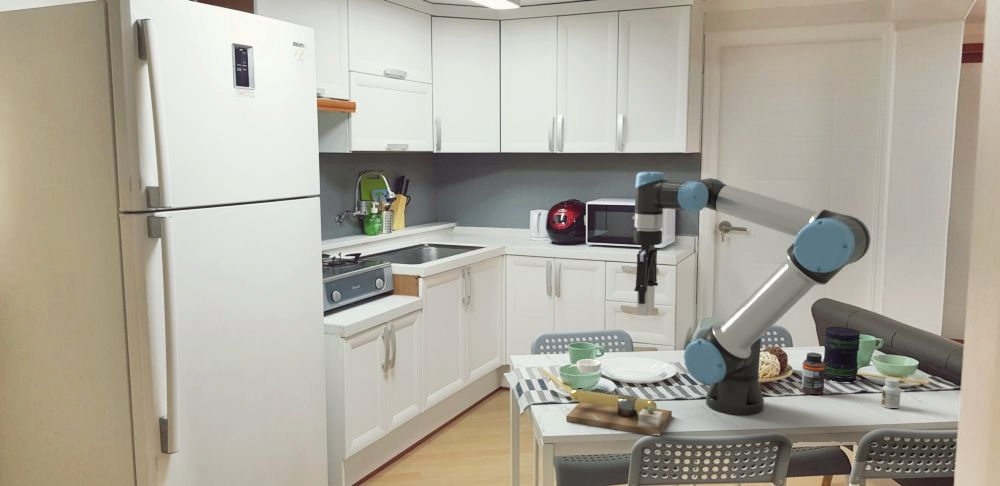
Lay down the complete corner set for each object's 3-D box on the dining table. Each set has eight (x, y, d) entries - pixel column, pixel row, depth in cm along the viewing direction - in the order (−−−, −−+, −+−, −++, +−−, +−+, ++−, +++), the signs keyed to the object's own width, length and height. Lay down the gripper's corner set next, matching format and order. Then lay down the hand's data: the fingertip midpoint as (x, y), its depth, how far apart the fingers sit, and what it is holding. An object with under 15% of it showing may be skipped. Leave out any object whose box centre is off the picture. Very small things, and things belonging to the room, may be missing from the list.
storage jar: (831, 371, 243) (834, 325, 241) (862, 379, 235) (866, 331, 233) (815, 377, 237) (818, 330, 235) (847, 385, 229) (850, 336, 227)
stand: (671, 416, 204) (672, 394, 203) (659, 436, 190) (659, 412, 189) (584, 403, 213) (584, 381, 212) (566, 421, 200) (566, 398, 199)
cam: (658, 414, 200) (658, 398, 199) (653, 421, 195) (654, 404, 195) (573, 401, 209) (573, 386, 208) (567, 407, 205) (567, 391, 204)
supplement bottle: (811, 387, 227) (814, 350, 226) (828, 393, 222) (830, 355, 220) (796, 390, 225) (798, 352, 223) (812, 396, 220) (815, 358, 218)
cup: (600, 393, 221) (600, 366, 220) (565, 391, 223) (565, 364, 221) (600, 385, 228) (601, 359, 227) (566, 384, 229) (567, 357, 228)
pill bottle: (882, 402, 215) (884, 375, 214) (899, 405, 213) (902, 378, 212) (880, 407, 211) (882, 380, 210) (898, 410, 209) (900, 383, 208)
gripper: (643, 224, 220) (640, 303, 223) (624, 232, 202) (622, 318, 205) (669, 225, 217) (666, 306, 220) (653, 234, 199) (650, 321, 202)
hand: (645, 311), depth 213 cm, fingers open, 7 cm apart
